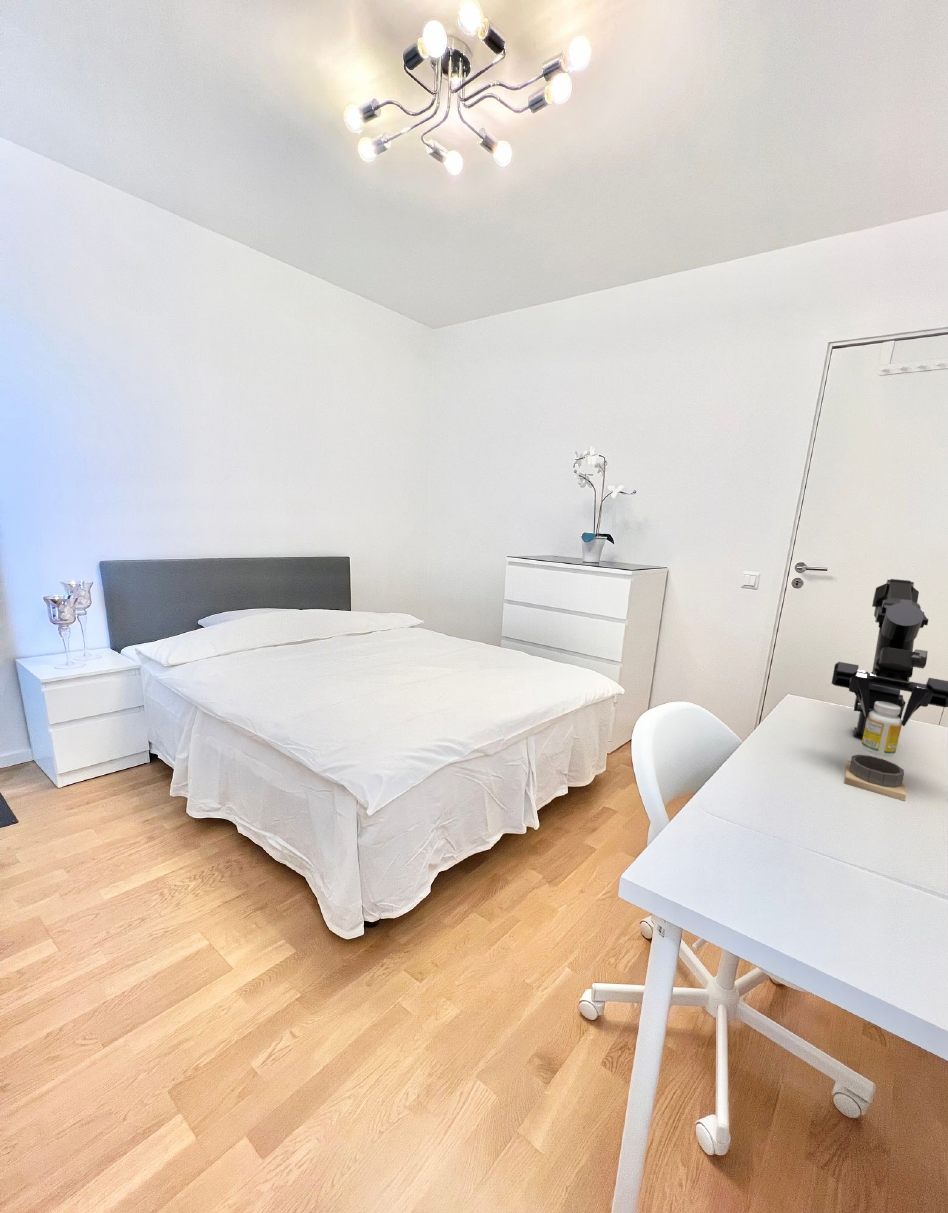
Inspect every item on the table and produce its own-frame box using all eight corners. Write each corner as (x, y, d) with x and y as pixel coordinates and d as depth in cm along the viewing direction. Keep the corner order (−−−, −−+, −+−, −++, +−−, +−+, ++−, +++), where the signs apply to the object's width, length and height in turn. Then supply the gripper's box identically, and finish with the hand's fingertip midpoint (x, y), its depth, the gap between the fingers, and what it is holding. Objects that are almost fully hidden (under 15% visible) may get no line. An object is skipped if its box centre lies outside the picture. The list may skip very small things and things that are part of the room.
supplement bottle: (862, 752, 100) (872, 705, 98) (859, 742, 104) (868, 697, 103) (897, 759, 97) (908, 712, 95) (892, 749, 102) (902, 703, 100)
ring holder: (846, 765, 108) (849, 748, 108) (901, 780, 103) (905, 763, 102) (844, 783, 100) (847, 765, 100) (904, 800, 95) (908, 782, 94)
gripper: (842, 623, 105) (830, 688, 98) (966, 641, 94) (961, 714, 87) (837, 653, 113) (825, 714, 106) (951, 672, 102) (945, 742, 95)
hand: (884, 720), depth 98 cm, fingers closed on supplement bottle, 5 cm apart
